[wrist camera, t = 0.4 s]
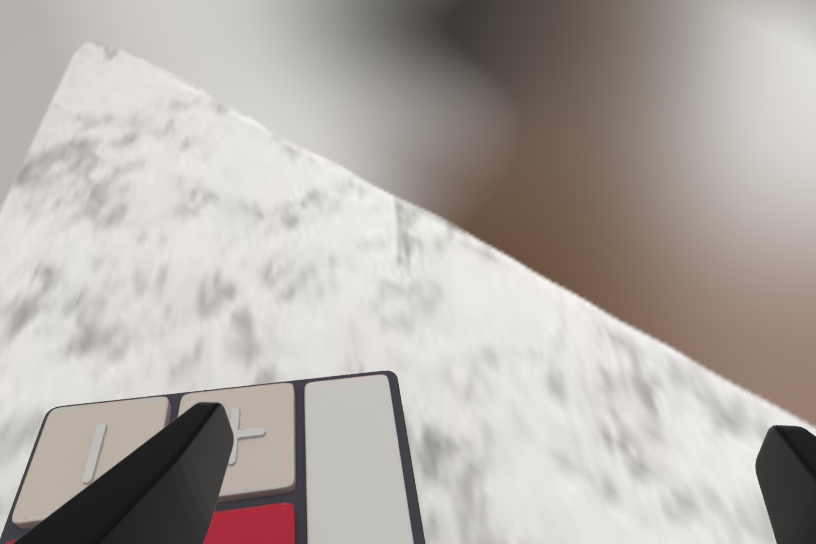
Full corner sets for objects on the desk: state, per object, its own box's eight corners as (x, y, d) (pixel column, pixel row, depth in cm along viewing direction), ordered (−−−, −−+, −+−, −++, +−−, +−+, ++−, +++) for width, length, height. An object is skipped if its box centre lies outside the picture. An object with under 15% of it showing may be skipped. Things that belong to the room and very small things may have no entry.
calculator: (38, 395, 23) (396, 357, 25) (79, 446, 26) (395, 409, 28) (-95, 740, 15) (445, 643, 17) (-14, 755, 18) (436, 672, 20)
